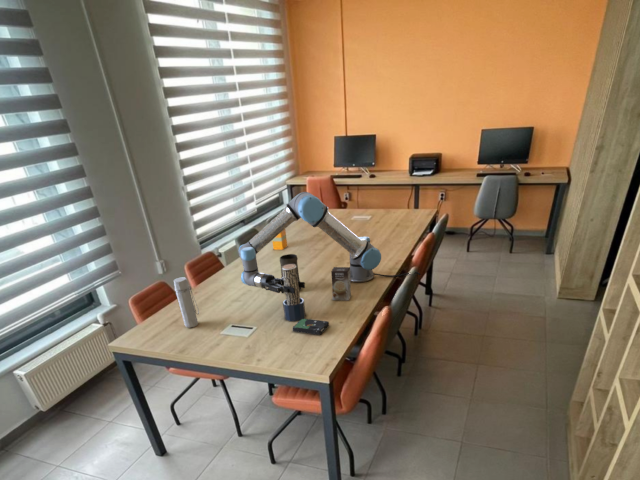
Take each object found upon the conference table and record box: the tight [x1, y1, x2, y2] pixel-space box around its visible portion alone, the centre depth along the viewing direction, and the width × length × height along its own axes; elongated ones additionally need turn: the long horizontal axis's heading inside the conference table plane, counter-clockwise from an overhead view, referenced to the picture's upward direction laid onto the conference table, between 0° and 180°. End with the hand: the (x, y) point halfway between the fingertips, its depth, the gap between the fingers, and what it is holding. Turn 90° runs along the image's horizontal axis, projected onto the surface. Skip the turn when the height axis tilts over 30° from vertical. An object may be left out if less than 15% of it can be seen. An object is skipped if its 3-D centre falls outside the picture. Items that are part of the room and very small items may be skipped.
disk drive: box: [292, 318, 330, 336], centre depth 217 cm, size 10×3×15 cm
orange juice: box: [271, 228, 288, 251], centre depth 328 cm, size 8×9×20 cm
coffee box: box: [330, 266, 352, 301], centre depth 239 cm, size 9×6×16 cm
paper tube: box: [282, 264, 301, 305], centre depth 223 cm, size 7×7×25 cm
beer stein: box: [279, 253, 302, 294], centre depth 258 cm, size 15×11×20 cm
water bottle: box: [173, 276, 200, 329], centre depth 232 cm, size 9×8×25 cm
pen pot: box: [282, 297, 306, 322], centre depth 229 cm, size 10×10×8 cm
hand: (299, 288), depth 219 cm, fingers closed on paper tube, 7 cm apart
